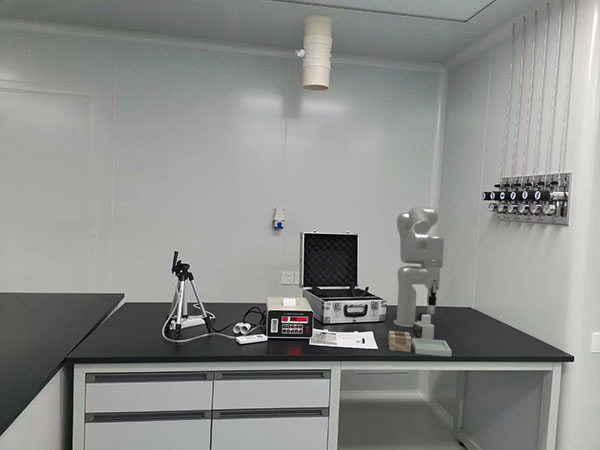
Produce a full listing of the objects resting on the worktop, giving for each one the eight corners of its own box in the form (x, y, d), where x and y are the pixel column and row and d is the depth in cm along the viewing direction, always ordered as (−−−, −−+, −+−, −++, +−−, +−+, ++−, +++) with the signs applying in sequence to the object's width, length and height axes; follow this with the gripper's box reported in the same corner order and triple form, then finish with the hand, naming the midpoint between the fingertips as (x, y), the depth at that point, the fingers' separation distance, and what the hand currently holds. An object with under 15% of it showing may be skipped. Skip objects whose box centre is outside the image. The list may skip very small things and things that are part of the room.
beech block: (388, 343, 209) (389, 330, 209) (408, 345, 208) (409, 332, 208) (389, 350, 200) (390, 336, 200) (410, 351, 199) (411, 338, 199)
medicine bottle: (412, 336, 222) (414, 312, 222) (424, 335, 225) (426, 311, 224) (421, 340, 216) (422, 316, 215) (433, 339, 218) (435, 315, 217)
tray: (411, 343, 212) (412, 338, 212) (444, 345, 210) (445, 340, 210) (415, 353, 197) (416, 348, 197) (451, 356, 195) (451, 351, 195)
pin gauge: (426, 312, 204) (428, 285, 204) (433, 312, 204) (435, 286, 203) (427, 313, 201) (429, 287, 200) (434, 314, 201) (436, 287, 200)
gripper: (422, 260, 210) (420, 299, 211) (428, 265, 193) (425, 308, 195) (439, 261, 209) (436, 300, 210) (446, 266, 193) (443, 309, 194)
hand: (431, 303), depth 202 cm, fingers closed on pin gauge, 3 cm apart
